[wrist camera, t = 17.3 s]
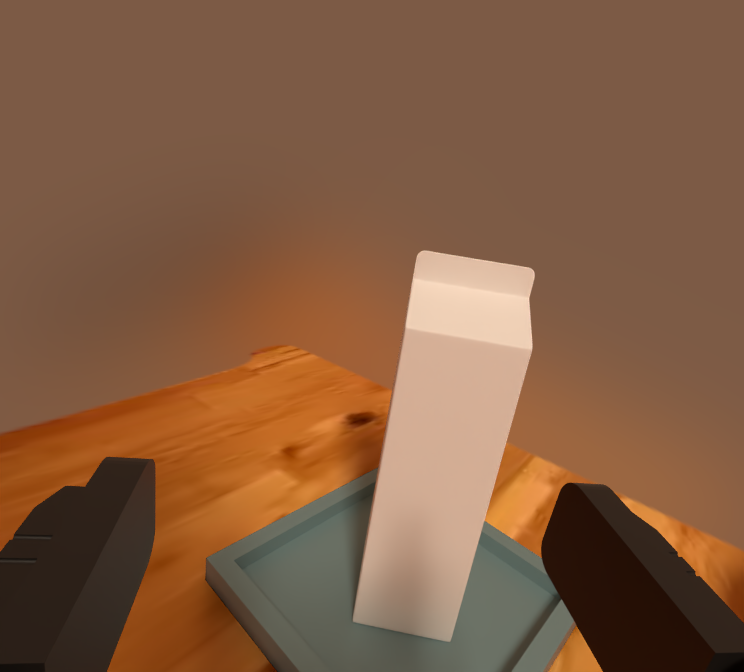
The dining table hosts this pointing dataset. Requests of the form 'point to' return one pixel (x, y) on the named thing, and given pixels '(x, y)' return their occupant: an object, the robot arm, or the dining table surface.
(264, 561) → the tray
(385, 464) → the milk
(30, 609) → the robot arm
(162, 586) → the dining table surface
